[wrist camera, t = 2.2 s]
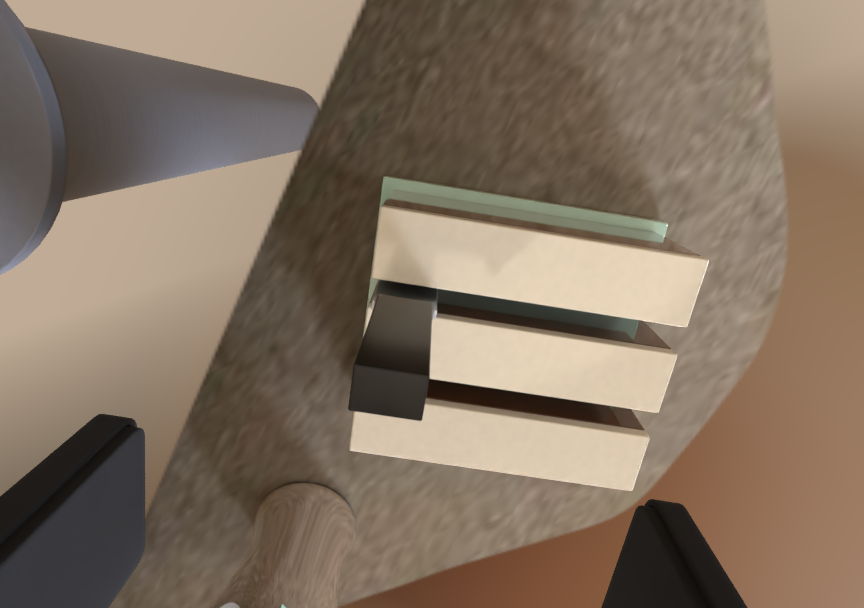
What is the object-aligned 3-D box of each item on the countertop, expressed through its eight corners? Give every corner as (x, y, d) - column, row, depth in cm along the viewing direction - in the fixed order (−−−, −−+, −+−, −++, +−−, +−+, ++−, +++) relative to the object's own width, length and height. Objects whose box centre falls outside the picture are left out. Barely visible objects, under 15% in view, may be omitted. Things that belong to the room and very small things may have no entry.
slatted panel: (357, 391, 30) (336, 458, 24) (384, 174, 27) (368, 190, 20) (600, 427, 31) (640, 502, 25) (662, 220, 27) (727, 249, 21)
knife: (385, 273, 27) (338, 409, 14) (389, 246, 27) (344, 362, 14) (434, 280, 27) (430, 423, 15) (439, 254, 27) (439, 376, 14)
